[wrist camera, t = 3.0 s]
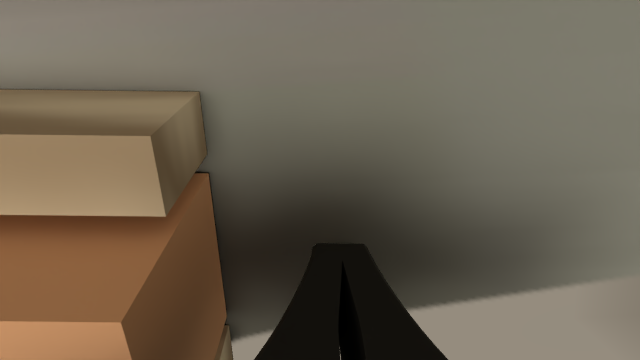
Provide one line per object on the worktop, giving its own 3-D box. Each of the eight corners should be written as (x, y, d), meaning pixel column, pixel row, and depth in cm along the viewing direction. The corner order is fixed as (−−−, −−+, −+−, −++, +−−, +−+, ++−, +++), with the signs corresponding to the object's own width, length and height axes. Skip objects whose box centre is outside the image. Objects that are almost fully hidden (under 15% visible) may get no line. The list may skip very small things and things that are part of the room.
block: (226, 316, 12) (173, 503, 8) (68, 314, 12) (-73, 500, 8) (208, 173, 10) (120, 322, 6) (14, 171, 10) (-224, 318, 6)
